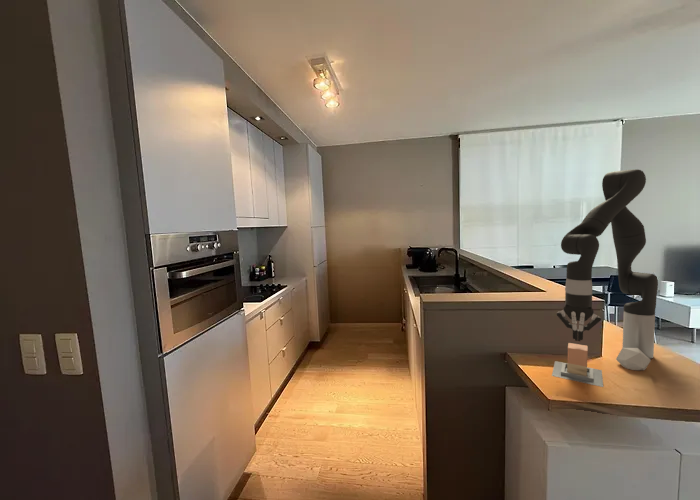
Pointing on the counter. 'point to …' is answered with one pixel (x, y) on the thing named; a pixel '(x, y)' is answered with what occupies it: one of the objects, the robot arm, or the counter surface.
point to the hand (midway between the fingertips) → (577, 340)
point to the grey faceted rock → (633, 359)
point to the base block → (576, 369)
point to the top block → (577, 354)
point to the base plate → (592, 374)
